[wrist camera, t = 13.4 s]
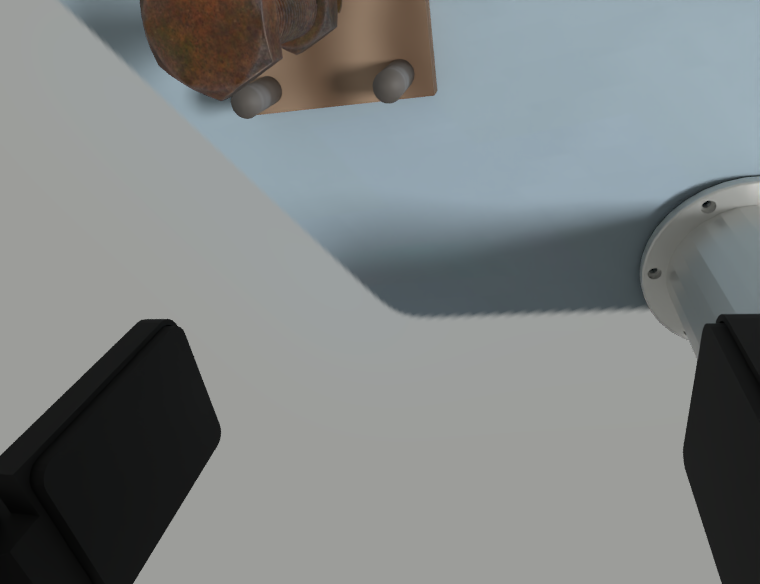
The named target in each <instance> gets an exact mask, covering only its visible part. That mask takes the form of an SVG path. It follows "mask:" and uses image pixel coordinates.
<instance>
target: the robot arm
mask: <svg viewBox="0 0 760 584" xmlns="http://www.w3.org/2000/svg"><path fill="white" fill-rule="evenodd" d="M706 201H709V202H708V203H707V204H706V205H702V204H703V203H704V202H706ZM653 268H655V269H654V270H651V269H653ZM640 283H641V288H642V291H643V295H644V298H645V300H646V302H647V304H648V306H649V309H650V311H651V312H652V313H653V315H654V316H655V317H656V318H657V319H658V321H659V322H660V323H661V324H662V325H664V326H665V327H666V328H668V329H669V330H670V331H671V332H673V333H675V334H676V335H678V336H681V337H682V338H684V339H687V340H689V342H690V344H691V346H692V349H693V351H694V353H695V355H696V358H697V366H696V373H695V379H694V385H693V391H692V397H691V403H690V409H689V416H688V422H687V428H686V434H685V441H684V447H683V457H684V465H685V470H686V473H687V476H688V479H689V483H690V486H691V488H692V492H693V495H694V498H695V501H696V504H697V507H698V511H699V514H700V517H701V520H702V523H703V526H704V529H705V532H706V535H707V538H708V542H709V545H710V548H711V551H712V554H713V557H714V560H715V564H716V566H717V570H718V573H719V576H720V579H721V582H722V584H760V176H757V177H745V178H740V179H736V180H731V181H727V182H723V183H721V184H718V185H715V186H713V187H710V188H708V189H705V190H703V191H701V192H699V193H698V194H696V195H694V196H692V197H690V198H689V199H687V200H685V201H684V202H683V203H681V204H680V205H679V206H678V207H676V208H675V209H674V210H673V211H671V212H670V213H669V214H668V215H667V216H666V217H665V218H664V220H663V221H662V222H661V223H660V224H659V225H658V226H657V227H656V229H655V231H654V232H653V234H652V235H651V237H650V239H649V240H648V242H647V244H646V247H645V250H644V252H643V255H642V258H641V265H640ZM220 437H221V428H220V424H219V422H218V419H217V416H216V414H215V411H214V408H213V406H212V403H211V401H210V398H209V395H208V393H207V390H206V387H205V385H204V382H203V380H202V377H201V374H200V372H199V369H198V367H197V364H196V361H195V359H194V356H193V354H192V351H191V348H190V346H189V343H188V340H187V338H186V335H185V333H184V331H183V329H181V327H178V326H177V325H176V323H175V322H173V320H170V319H145V320H141V321H139V322H138V323H137V324H136V325H135V326H133V327H132V329H130V330H129V331H128V332H127V333H126V334H125V335H124V336H123V337H122V338H121V339H120V340H119V341H118V342H117V343H116V344H115V345H114V346H113V347H112V348H111V349H110V350H109V351H108V352H107V353H106V354H105V355H104V356H103V357H102V358H100V360H98V362H96V363H95V364H94V365H93V366H92V367H91V368H90V369H89V370H88V371H87V372H86V373H85V374H84V375H83V376H82V377H81V378H80V379H79V380H78V381H77V382H76V383H75V384H74V385H73V386H72V387H71V388H70V389H69V390H68V391H66V392H65V394H63V395H62V397H60V399H58V400H57V401H56V402H55V403H54V404H53V405H52V406H51V407H50V408H49V409H48V410H47V411H46V412H45V413H44V414H43V415H42V416H41V417H40V418H39V419H38V420H37V421H36V422H34V423H33V424H32V426H30V428H28V429H27V430H26V431H25V432H24V433H23V434H22V435H21V436H20V437H19V438H18V439H17V440H16V441H15V442H14V443H13V444H12V445H11V446H10V447H9V448H8V449H7V450H6V451H5V452H4V453H3V454H2V455H1V456H0V584H133V583H134V581H135V579H136V578H137V576H138V574H139V573H140V571H141V570H142V568H143V566H144V565H145V563H146V561H147V560H148V558H149V556H150V555H151V553H152V552H153V550H154V548H155V547H156V545H157V543H158V542H159V540H160V539H161V537H162V535H163V534H164V532H165V530H166V529H167V527H168V525H169V524H170V522H171V521H172V519H173V517H174V516H175V514H176V512H177V511H178V509H179V508H180V506H181V504H182V503H183V501H184V499H185V498H186V496H187V494H188V493H189V491H190V490H191V488H192V486H193V485H194V483H195V481H196V480H197V478H198V477H199V475H200V473H201V471H202V470H203V468H204V467H205V465H206V463H207V462H208V460H209V459H210V457H211V455H212V454H213V452H214V450H215V449H216V447H217V445H218V443H219V441H220Z"/></svg>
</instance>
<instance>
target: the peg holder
mask: <svg viewBox="0 0 760 584" xmlns="http://www.w3.org/2000/svg"><path fill="white" fill-rule="evenodd" d="M282 55H283V59H281V60H280V61H279V62H277V63H276V64H275V65H273V66H272V67H271V68H269V69H268V70H267V71H265V72H264V73H263V74H261V75H260V76H259V77H257V78H256V79H255V80H253V81H252V82H251V83H249V84H248V85H246V86H245V87H244V88H242V89H241V90H240V91H238V92H237V93H236V94H234V95H233V96H232V97H231V105H232V108H233V110H234V111H235V113H236V114H237V115H238V116H240V117H242V118H245V119H249V118H252V117H254V116H256V115H261V114H270V113H279V112H288V111H297V110H306V109H315V108H325V107H334V106H343V105H352V104H361V103H370V102H379V101H381V102H384V103H393V102H396V101H397V100H398V99H406V98H415V97H425V96H434V95H435V93H436V92H437V83H436V72H435V61H434V51H433V40H432V29H431V18H430V7H429V0H342V9H341V11H340V13H338V19H337V28H335V29H334V30H333V31H332V32H330V33H329V34H328V35H327V36H325V37H324V38H323V39H321V40H320V41H318V42H317V43H316V44H314V45H313V46H311V47H310V48H309V49H307V50H306V51H304V52H303V53H300V54H298V55H295V54H293V53H291V52H288V51H286V50H284V49H282Z"/></svg>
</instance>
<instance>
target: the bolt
mask: <svg viewBox="0 0 760 584" xmlns="http://www.w3.org/2000/svg"><path fill="white" fill-rule="evenodd" d="M140 7H141V15H142V21H143V26H144V30H145V34H146V37H147V40H148V43H149V45H150V48H151V51H152V53H153V55H154V57H155V59H156V61H157V63H158V65H159V66H160V67H161V68H162V69H163V70H165V71H166V72H167V73H168V74H169V75H171V76H172V77H174V78H175V79H177V80H178V81H180V82H181V83H183V84H185V85H186V86H188V87H190V88H192V89H193V90H195V91H198V92H200V93H202V94H204V95H206V96H209V97H212V98H214V99H217V100H220V101H223V100H225V99H227V98H229V97H231V96H233V95H234V94H236V93H237V92H238V91H240V90H241V89H242V88H244V87H245V86H246V85H248V84H249V83H251V82H252V81H253V80H255V79H256V78H257V77H259V76H260V75H261V74H263V73H264V72H265V71H267V70H268V69H269V68H271V67H272V66H273V65H275V64H276V63H277V62H279V61H280V60H281V59H283V55H282V49H284V50H286V51H288V52H291V53H293V54H295V55H298V54H300V53H303V52H304V51H306V50H307V49H309V48H310V47H311V46H313V45H314V44H316V43H317V42H318V41H320V40H321V39H323V38H324V37H325V36H327V35H328V34H329V33H330V32H332V31H333V30H334V29H335V28H337V19H338V13H340V11H341V9H342V0H140Z"/></svg>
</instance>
